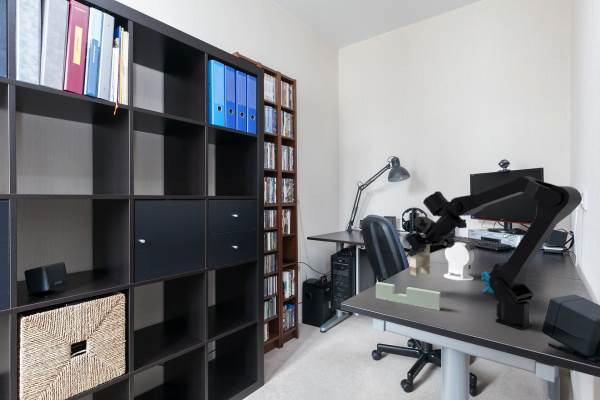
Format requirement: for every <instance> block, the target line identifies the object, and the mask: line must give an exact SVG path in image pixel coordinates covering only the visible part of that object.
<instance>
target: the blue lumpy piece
mask: <svg viewBox="0 0 600 400" xmlns="http://www.w3.org/2000/svg"><path fill="white" fill-rule="evenodd" d="M489 273H490V272H488V271H484V272H483V273H481V274H480V275H481V276H482V277H481V280H482V281H483V282H484V283H483V285H484V286H485V287H486V288H484V289H483V290H482V292H483V293H484V294H485V293H488V292H489V291H490V293H493V290H492V289H491V287H490V284H489V282H488V281H489V277H490V276H489V275H488V274H489Z"/></svg>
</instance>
